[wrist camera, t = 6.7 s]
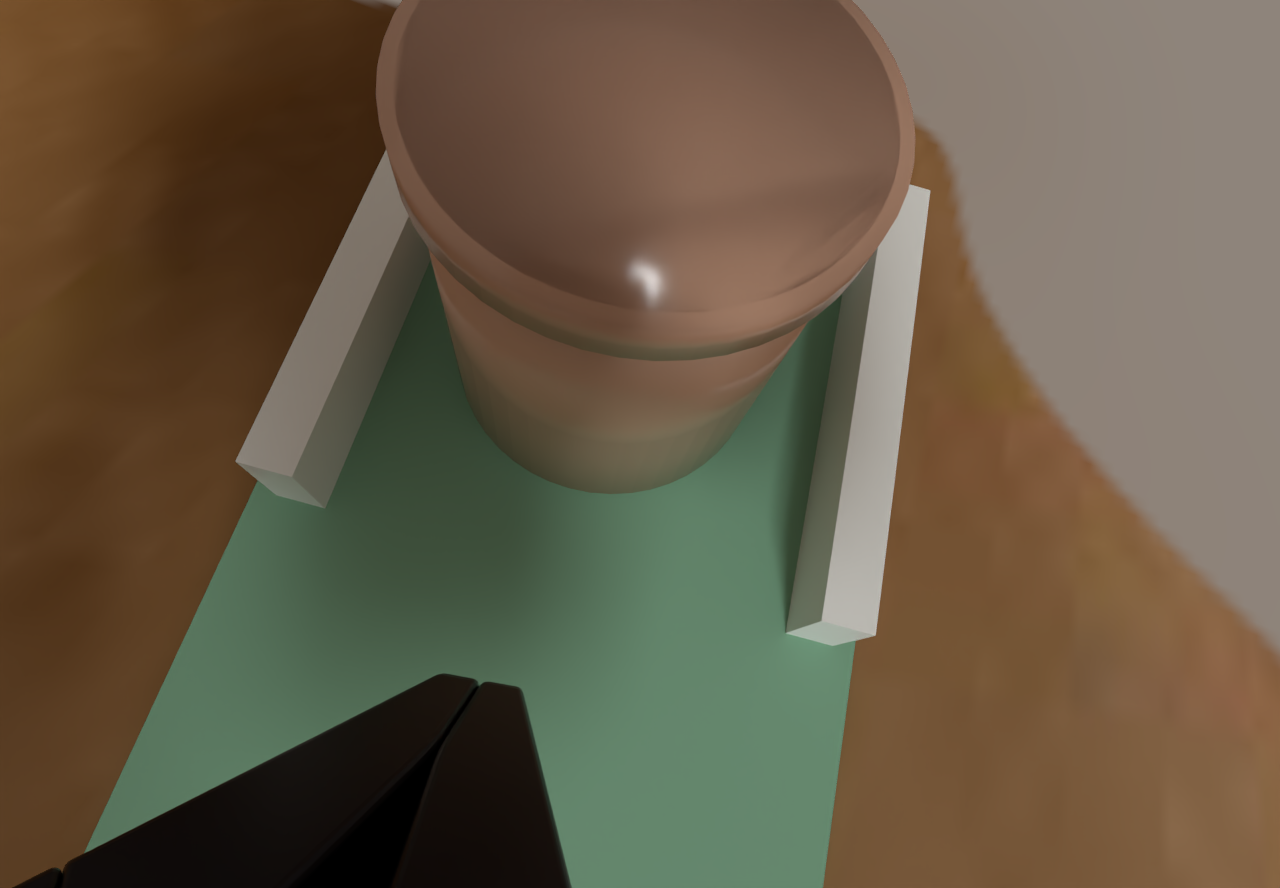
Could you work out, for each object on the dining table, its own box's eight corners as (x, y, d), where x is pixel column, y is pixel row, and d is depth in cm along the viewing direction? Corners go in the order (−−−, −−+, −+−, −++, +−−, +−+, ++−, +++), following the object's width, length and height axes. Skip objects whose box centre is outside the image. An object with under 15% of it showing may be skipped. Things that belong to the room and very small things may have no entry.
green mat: (760, 1292, 14) (766, 1309, 14) (-22, 1102, 14) (-37, 1113, 13) (903, 239, 23) (909, 231, 23) (438, 105, 23) (437, 95, 22)
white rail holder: (832, 646, 18) (875, 635, 16) (276, 495, 18) (235, 461, 15) (890, 245, 22) (930, 190, 20) (446, 117, 22) (435, 47, 20)
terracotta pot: (546, 565, 18) (548, 430, 9) (394, 292, 20) (283, -18, 11) (821, 411, 20) (1019, 194, 12) (659, 181, 22) (730, -144, 14)
